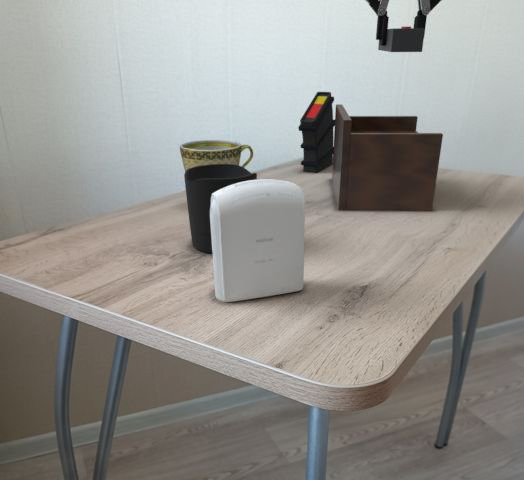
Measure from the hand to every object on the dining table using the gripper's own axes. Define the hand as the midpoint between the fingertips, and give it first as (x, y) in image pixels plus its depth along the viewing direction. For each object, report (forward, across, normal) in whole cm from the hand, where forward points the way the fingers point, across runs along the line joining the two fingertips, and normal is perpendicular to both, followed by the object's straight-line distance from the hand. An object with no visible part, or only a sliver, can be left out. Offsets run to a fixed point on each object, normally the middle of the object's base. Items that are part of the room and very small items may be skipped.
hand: (399, 44), depth 87 cm
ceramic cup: (+24, -28, -6) cm, 38 cm away
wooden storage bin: (+24, 0, +2) cm, 24 cm away
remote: (+1, 0, 0) cm, 1 cm away
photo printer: (+24, -20, -43) cm, 53 cm away
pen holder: (+24, -26, -27) cm, 45 cm away
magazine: (+24, -11, +24) cm, 36 cm away
